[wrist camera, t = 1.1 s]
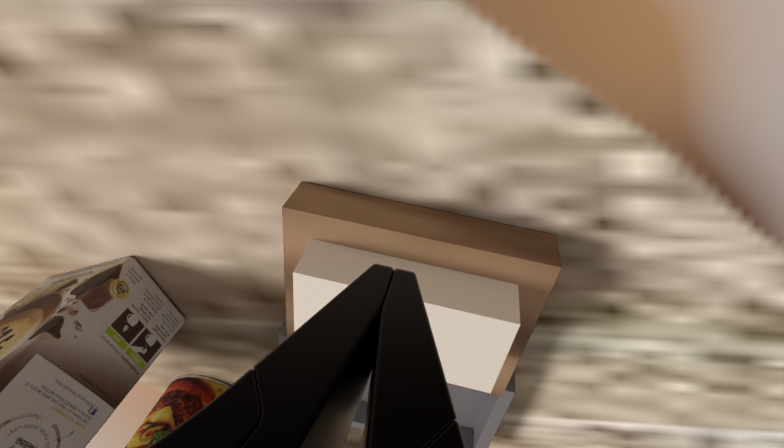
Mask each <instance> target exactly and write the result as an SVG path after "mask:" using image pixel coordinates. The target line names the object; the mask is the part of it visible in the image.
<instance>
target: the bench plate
mask: <svg viewBox="0 0 784 448" xmlns="http://www.w3.org/2000/svg"><path fill="white" fill-rule="evenodd" d="M282 215H283V243H284V271H285V299H286V327H287V338H288V337H289V336H290V335H291V334H292V333H294V301H293V271H294V269H295V268H296V266H297V264H298V263H299V261H300V259H301V258H302V256H303V254H304V252H305V251H306V249H307V247H308V246H309V244H310V242H311V241H312V239H315V240H319V241H324V242H328V243H333V244H337V245H342V246H346V247H351V248H355V249H360V250H364V251H369V252H373V253H378V254H382V255H387V256H391V257H396V258H400V259H405V260H409V261H414V262H418V263H423V264H427V265H432V266H436V267H441V268H445V269H450V270H454V271H459V272H463V273H468V274H472V275H477V276H481V277H486V278H490V279H495V280H499V281H504V282H508V283H513V284H517V285H518V291H519V308H520V327H519V329H518V331H517V334H516V336H515V338H514V341H513V343H512V345H511V348H510V350H509V352H508V354H507V357H506V359H505V361H504V364H503V366H502V368H501V371H500V373H499V375H498V377H497V380H496V382H495V384H494V387H493V389H492V391H491V393H488V394H492V395H496V396H500V397H502V395H503V393H504V391H505V389H506V387H507V385H508V382H509V380H510V378H511V376H512V374H513V372H514V370H515V367H516V365H517V363H518V361H519V359H520V357H521V354H522V352H523V350H524V348H525V346H526V344H527V342H528V339H529V337H530V335H531V333H532V331H533V329H534V327H535V324H536V322H537V320H538V318H539V316H540V314H541V311H542V309H543V307H544V305H545V303H546V301H547V299H548V296H549V294H550V292H551V290H552V288H553V286H554V284H555V281H556V279H557V277H558V275H559V273H560V271H561V268H562V266H561V261H560V255H559V250H558V245H557V239H556V235H553V234H548V233H544V232H539V231H534V230H529V229H525V228H520V227H515V226H510V225H506V224H501V223H496V222H491V221H487V220H482V219H477V218H472V217H467V216H463V215H458V214H453V213H448V212H444V211H439V210H434V209H429V208H425V207H420V206H415V205H410V204H406V203H401V202H396V201H391V200H387V199H382V198H377V197H372V196H368V195H363V194H358V193H353V192H348V191H344V190H339V189H334V188H329V187H325V186H320V185H315V184H310V183H306V182H301V183H300V184H299V186H298V187H297V188H296V190H295V191H294V192H293V194H292V195H291V196H290V198H289V199H288V200H287V202H286V203H285V204H284V205H283V207H282ZM447 384H450V383H447ZM451 385H454V384H451ZM455 386H458V385H455ZM459 387H462V386H459ZM463 388H466V387H463ZM467 389H470V388H467ZM471 390H474V389H471ZM475 391H479V390H475ZM479 392H483V391H479ZM483 393H487V392H483Z"/></svg>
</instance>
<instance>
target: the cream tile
mask: <svg viewBox="0 0 784 448" xmlns="http://www.w3.org/2000/svg"><path fill="white" fill-rule="evenodd" d="M373 264H381V265H385V266H390V267H392V268H393V269H394V270H395V269H397V268H399V269H403V270H408V271H412V272H414V273H415V274H416V277H417V281H418V284H419V288H420V291H421V295H422V298H423V302H424V305H425V309H426V312H427V316H428V319H429V323H430V326H431V330H432V333H433V337H434V340H435V343H436V347H437V350H438V354H439V357H440V361H441V364H442V368H443V371H444V375H445V378H446V382H447V383H450V384H454V385H458V386H462V387H466V388H470V389H474V390H479V391H483V392H487V393H491V391H492V389H493V387H494V384H495V382H496V380H497V377H498V375H499V373H500V371H501V368H502V366H503V364H504V361H505V359H506V357H507V354H508V352H509V350H510V348H511V345H512V343H513V341H514V338H515V336H516V334H517V331H518V329H519V327H520V308H519V291H518V285H517V284H513V283H508V282H504V281H499V280H495V279H490V278H486V277H481V276H477V275H472V274H468V273H463V272H459V271H454V270H450V269H445V268H441V267H436V266H432V265H427V264H423V263H418V262H414V261H409V260H405V259H400V258H396V257H391V256H387V255H382V254H378V253H373V252H369V251H364V250H360V249H355V248H351V247H346V246H342V245H337V244H333V243H328V242H324V241H319V240H315V239H312V241H311V242H310V244H309V246H308V247H307V249H306V251H305V252H304V254H303V256H302V258H301V259H300V261H299V263H298V264H297V266H296V268H295V269H294V271H293V301H294V332H295V331H296V330H297V329H298V328H299V327H301V326H302V325H303V324H304V323H305V322H306V321H308V320H309V319H310V318H311V317H312V316H313V315H315V314H316V313H317V312H318V311H319V310H320V309H322V308H323V307H324V306H325V305H326V304H327V303H329V302H330V301H331V300H332V299H333V298H334V297H336V296H337V295H338V294H339V293H340V292H341V291H343V290H344V289H345V288H346V287H347V286H348V285H350V284H351V283H352V282H353V281H354V280H355V279H357V278H358V277H359V276H360V275H361V274H362V273H364V272H365V271H366V270H367V269H368V268H369V267H371V266H372V265H373Z"/></svg>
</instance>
